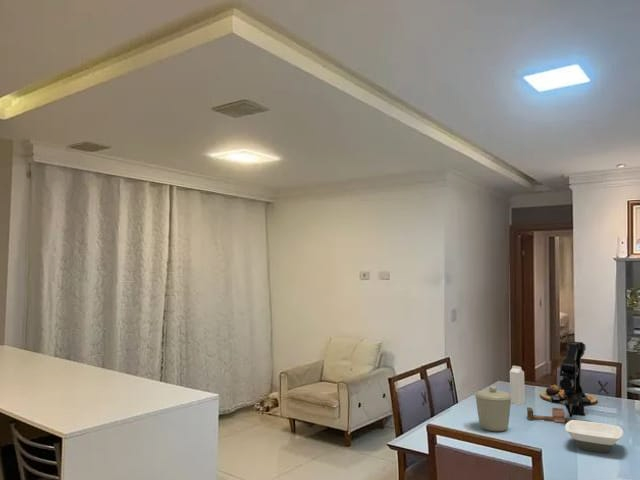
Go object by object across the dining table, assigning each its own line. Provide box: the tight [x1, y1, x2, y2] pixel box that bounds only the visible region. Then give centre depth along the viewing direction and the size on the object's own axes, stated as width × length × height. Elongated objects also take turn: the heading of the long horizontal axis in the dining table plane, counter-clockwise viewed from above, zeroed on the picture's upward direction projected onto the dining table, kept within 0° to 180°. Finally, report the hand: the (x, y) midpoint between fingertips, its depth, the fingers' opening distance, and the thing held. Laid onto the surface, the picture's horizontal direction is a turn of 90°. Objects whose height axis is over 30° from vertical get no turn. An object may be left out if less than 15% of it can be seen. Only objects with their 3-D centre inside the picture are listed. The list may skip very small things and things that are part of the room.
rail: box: [526, 406, 571, 424], centre depth 268 cm, size 20×7×5 cm, turn 73°
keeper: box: [551, 407, 566, 424], centre depth 267 cm, size 5×7×6 cm
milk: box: [509, 365, 526, 406], centre depth 303 cm, size 6×6×22 cm
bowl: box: [564, 419, 624, 454], centre depth 226 cm, size 22×23×8 cm
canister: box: [473, 385, 512, 432], centre depth 254 cm, size 18×18×21 cm
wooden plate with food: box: [539, 384, 598, 406], centre depth 313 cm, size 32×32×8 cm
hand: (570, 417), depth 265 cm, fingers closed
